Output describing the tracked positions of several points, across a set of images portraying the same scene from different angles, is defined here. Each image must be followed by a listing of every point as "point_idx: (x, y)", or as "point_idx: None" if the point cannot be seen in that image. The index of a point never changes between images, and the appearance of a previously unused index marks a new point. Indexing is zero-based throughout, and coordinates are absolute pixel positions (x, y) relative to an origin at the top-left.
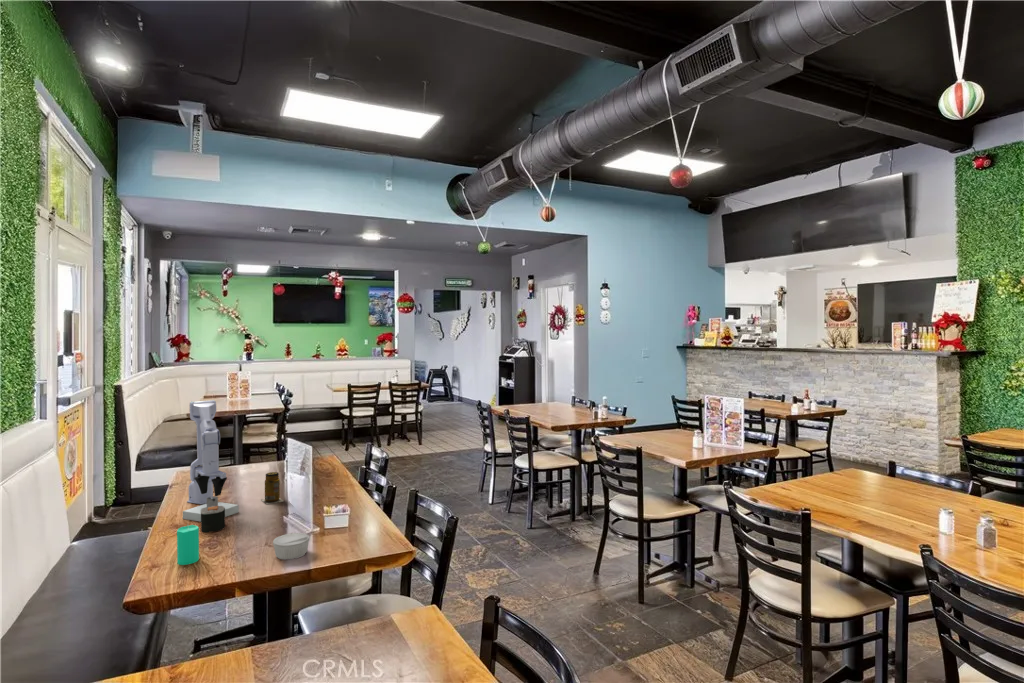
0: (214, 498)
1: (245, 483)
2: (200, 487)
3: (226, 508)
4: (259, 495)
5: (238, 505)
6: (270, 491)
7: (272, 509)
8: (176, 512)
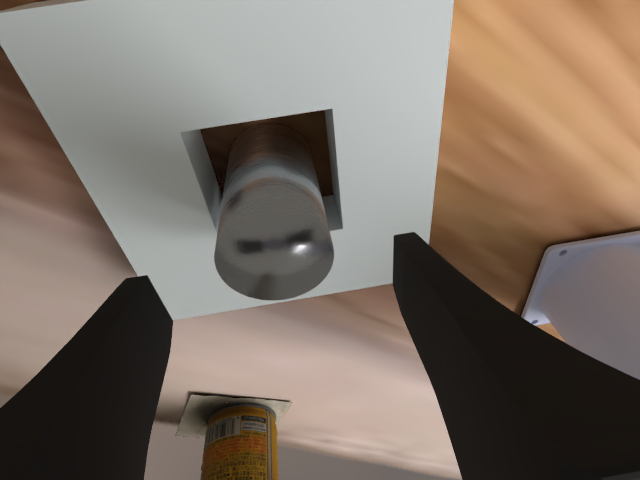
0: (217, 258)
1: None
2: (444, 291)
3: (133, 242)
4: (369, 416)
5: None
6: (210, 470)
7: None
8: (631, 52)
